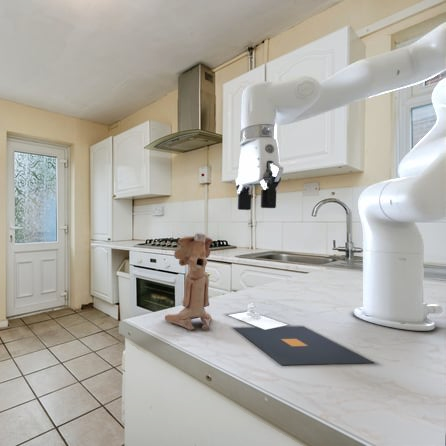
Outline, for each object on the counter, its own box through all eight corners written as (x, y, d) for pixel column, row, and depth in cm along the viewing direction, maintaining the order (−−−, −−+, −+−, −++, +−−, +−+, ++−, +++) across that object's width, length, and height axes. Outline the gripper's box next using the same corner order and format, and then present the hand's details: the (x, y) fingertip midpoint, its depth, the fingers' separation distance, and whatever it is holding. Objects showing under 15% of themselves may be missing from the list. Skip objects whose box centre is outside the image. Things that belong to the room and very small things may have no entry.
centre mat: (303, 326, 58) (303, 326, 58) (374, 363, 43) (374, 362, 43) (233, 328, 57) (233, 327, 57) (281, 365, 42) (281, 364, 42)
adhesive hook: (252, 315, 65) (252, 302, 65) (262, 319, 63) (262, 305, 63) (243, 317, 64) (243, 303, 64) (252, 320, 62) (252, 306, 62)
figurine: (210, 318, 63) (210, 231, 63) (220, 333, 55) (220, 233, 55) (163, 317, 64) (163, 231, 64) (167, 331, 56) (167, 233, 56)
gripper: (299, 126, 58) (296, 207, 58) (251, 148, 75) (250, 210, 75) (264, 124, 57) (262, 206, 57) (225, 146, 74) (223, 209, 75)
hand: (255, 208), depth 66 cm, fingers open, 9 cm apart
